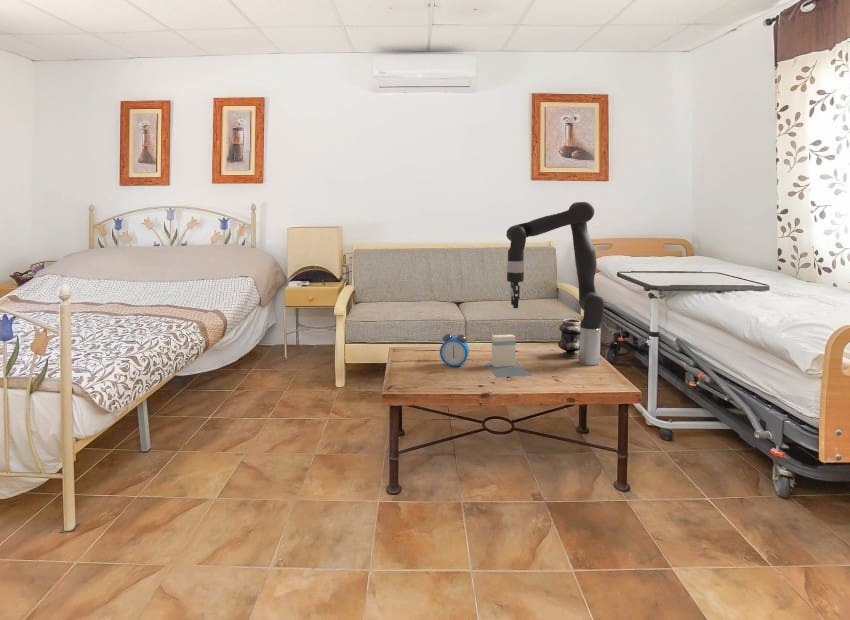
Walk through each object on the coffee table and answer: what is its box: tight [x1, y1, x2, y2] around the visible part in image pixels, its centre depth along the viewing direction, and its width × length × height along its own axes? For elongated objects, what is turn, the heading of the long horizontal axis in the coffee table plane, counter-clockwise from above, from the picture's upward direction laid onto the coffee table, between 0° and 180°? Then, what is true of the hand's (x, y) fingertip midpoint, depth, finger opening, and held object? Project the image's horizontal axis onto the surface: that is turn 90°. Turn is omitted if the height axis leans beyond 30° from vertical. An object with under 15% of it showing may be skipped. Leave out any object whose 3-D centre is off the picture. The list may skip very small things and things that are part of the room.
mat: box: [483, 361, 532, 378], centre depth 240 cm, size 22×16×1 cm
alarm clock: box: [439, 333, 470, 368], centre depth 246 cm, size 13×6×15 cm, turn 77°
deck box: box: [491, 334, 517, 367], centre depth 244 cm, size 4×10×14 cm, turn 98°
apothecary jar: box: [557, 318, 582, 359], centre depth 261 cm, size 12×12×18 cm
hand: (514, 306), depth 240 cm, fingers open, 8 cm apart
